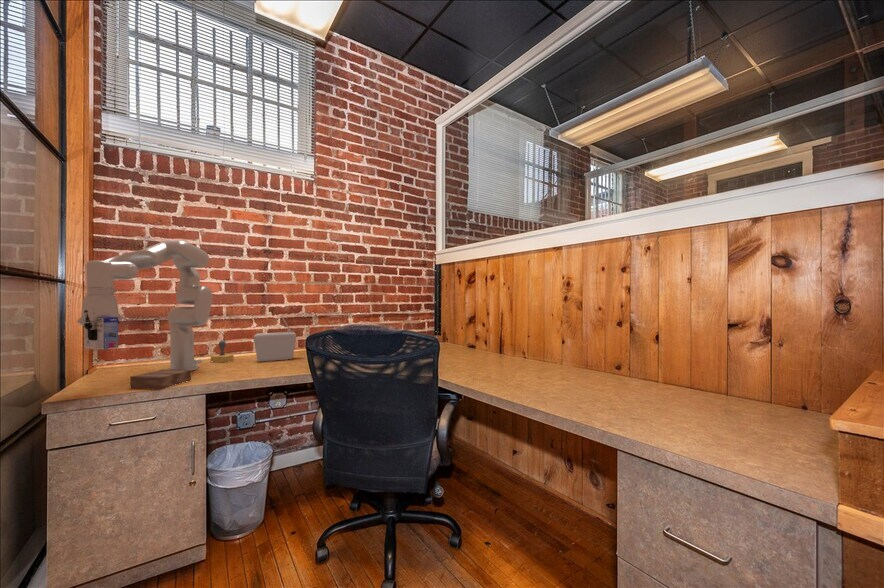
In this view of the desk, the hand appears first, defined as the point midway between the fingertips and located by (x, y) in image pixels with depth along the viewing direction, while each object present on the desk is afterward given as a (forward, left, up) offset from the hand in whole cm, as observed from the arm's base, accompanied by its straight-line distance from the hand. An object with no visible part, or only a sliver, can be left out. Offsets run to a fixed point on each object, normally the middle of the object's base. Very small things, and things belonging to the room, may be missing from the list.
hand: (101, 338), depth 137 cm
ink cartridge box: (0, 0, -4) cm, 4 cm away
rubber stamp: (-63, -3, -21) cm, 66 cm away
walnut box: (-13, +13, -21) cm, 28 cm away
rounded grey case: (-72, +24, -21) cm, 78 cm away
